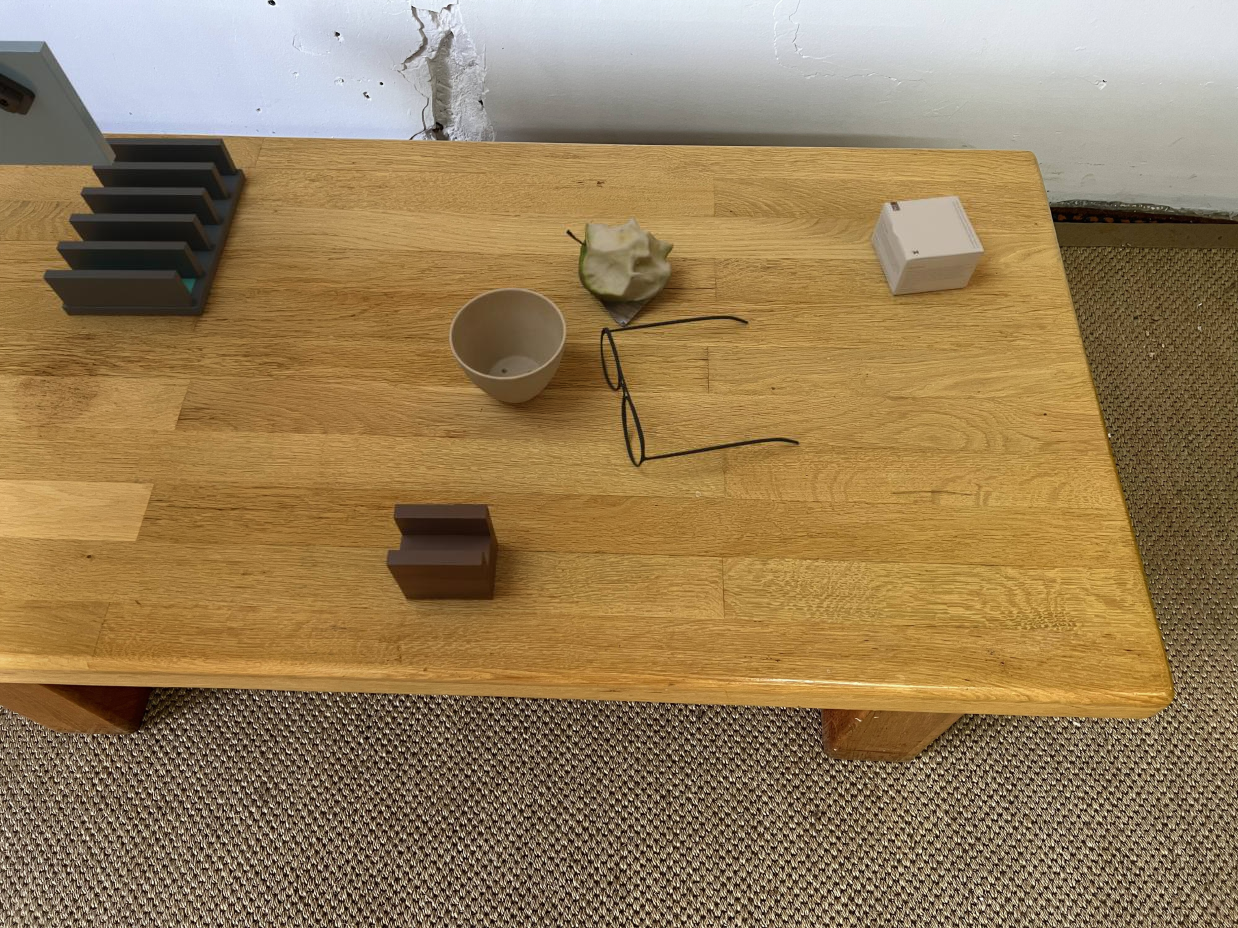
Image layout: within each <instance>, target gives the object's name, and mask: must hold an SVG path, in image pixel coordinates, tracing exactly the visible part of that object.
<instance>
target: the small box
mask: <svg viewBox="0 0 1238 928" xmlns="http://www.w3.org/2000/svg"><path fill="white" fill-rule="evenodd" d="M870 241H871V244H872V246H873V249H874V250H875V253H876V256H877V259H878V261H879V263H880V266H881V268H882V271H883V273H884V274H883V275H884V276H885V279H886V281H887V284H888V287H889V289H890V291H891V295H893V296H899V295H909V294H918V293H926V292H936V291H944V290H954V289H962V288H966V287H967V285H968V283H969V282H970V280H971V278H972V276H973V274H974V272H975V270H976V268H977V266H978V264H979V262H980V260H981V258H982V256H983V254H984V252H985V249H984V247H983V244H982V243H981V241H980V239H979V237H978V234H977V233H976V231H975V229H974V226H973V224H972V223H971V221H970V219H969V217H968V214H967V213H966V211H965V209H964V207H963V205H962V203H961V201H960V198H959V196H958V195H950V196H949V195H948V196H939V197H930V198H921V199H910V200H908V199H907V200H900V201H890V202H884V203H883V204H882V208H881V210H880V214H879V216H878V219H877V222H876V225H875V227H874V230H873V234H872V236H871V239H870Z"/></svg>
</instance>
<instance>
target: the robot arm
mask: <svg viewBox="0 0 1238 928" xmlns="http://www.w3.org/2000/svg"><path fill="white" fill-rule="evenodd" d="M34 99H35V94H34V93H33V92H32V91H31V90H30V89H28V88H26V87H24V86H22V85H21V84H19V83H17V82H15V81H13V80H12V79H10V78H8V77H6V76H5V75H3V74H1V73H0V108H1V109H3V110H5V111H7V112H10V113H14V114H15V113H18V114H20V115H26V114H27V113H28V111H29V109H30V107H31V105H32V103H33V101H34Z"/></svg>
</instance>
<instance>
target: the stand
mask: <svg viewBox="0 0 1238 928" xmlns="http://www.w3.org/2000/svg"><path fill="white" fill-rule="evenodd" d="M393 509H394V510H393V517H392V518H393V520H394V522H395V524H396V526H397V528H398V531H399V532H400V535H401V538H400V545H399V549H388V550H387V555H386V563H385V565H386V567H387V569H388V570H389V572H390V574H391V575H392V577H393V579H394V580H395V582H396V584H397V586H398V587H399V589H400V591H401V592H402V594H403V596H404V598H405V599H406V600H449V601H450V600H451V601H453V600H454V601H455V600H456V601H457V600H459V601H460V600H462V601H463V600H464V601H465V600H467V601H468V600H469V601H470V600H473V601H476V600H477V601H482V600H483V601H493V600H494V598H495V586H496V585H495V584H496V575H497V574H496V573H497V563H498V562H497V560H498V550H499V549H498V548H499V542H498V539H497V534H496V531H495V529H494V528H495V527H494V525H493V520H492V516H491V514H490V510H489V506H488V504H468V503H467V504H463V503H462V504H459V503H457V504H456V503H449V504H445V503H441V504H439V503H395V504H394V508H393Z"/></svg>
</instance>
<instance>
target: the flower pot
mask: <svg viewBox="0 0 1238 928" xmlns="http://www.w3.org/2000/svg"><path fill="white" fill-rule="evenodd" d="M448 334H449V335H448V339H449V340H448V341H449V342H448V343H449V346H450V350H451V352H452V354H453V356H454V358H455V361H456V362H457V364H458V366H459V367H460V368H461V370H462V371H463V373H464V374H465V375H466V376H467V378H469V380H470V381H471V382H472V383H473V384H474V385H475V386H476V387H477V388H478V389H479V390H481V391H482V392H484V393H485V394H487V395H489V396H490V397H492V398H494V399H496V400H499V401H501V402H505V403H508V404H509V403H510V404H519V403H520V404H521V403H524V402H527V401H529V400H532V399H533V398H534V397H536V396H537V395H539V394H540V393H541V392H542V391H543V390H544V389H545V388H546V387H547V386H548V384H549V383H550V382H551V381H552V379H553V377H554V376H555V374H556V372H557V370H558V368H559V366H560V364H561V361H562V358H563V354H564V351H565V346H566V341H567V324H566V320H565V317H564V315H563V313H562V311H561V310H560V308H559V306H557V304H556V303H555V302H553V301H552V300H551V299H549V298H548V297H547V296H545V295H543V294H541V293H539V292H537V291H534V290H530V289H528V288H527V289H526V288H521V287H501V288H495V289H491V290H488V291H485V292H483V293H481V294H478V295H477V296H474V297H473V298H472V299H470V300H469V301H467V302H466V303H465V304H464V305H463V306H462V307H461V308H460V309H459V310H458V312H457V313H455V316H454V317H453V319H452V322H451V324H450V328H449V332H448Z"/></svg>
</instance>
